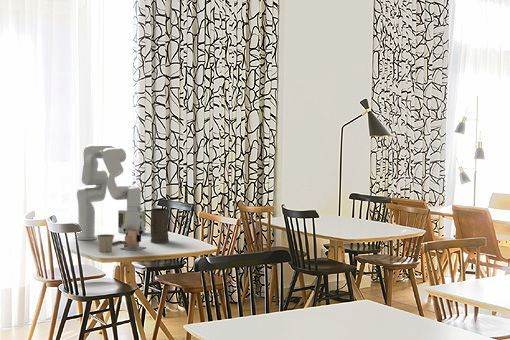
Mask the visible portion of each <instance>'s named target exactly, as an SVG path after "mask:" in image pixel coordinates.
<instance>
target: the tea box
mask: <svg viewBox="0 0 510 340" xmlns="http://www.w3.org/2000/svg"><path fill="white" fill-rule="evenodd" d="M126 212H127V208H126V209H119V210H118V212H117V213H118V214H117V215H118V216H117V217H118V218H117V220H118V223H117V224H118V226H117V227H118V228H117V231H118V233H121V234H125V232H124V231H123V229H122V227H121V226H122V225H123V224H124V223H125V214H126ZM141 212H142V215H143V225H144V227H145V228H146V211H145V210H143V209H142V210H141ZM141 230H142V229H141ZM144 233H146V230H145V231H144V232H143V233H142V234H144Z"/></svg>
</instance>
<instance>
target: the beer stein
mask: <svg viewBox="0 0 510 340" xmlns="http://www.w3.org/2000/svg"><path fill="white" fill-rule="evenodd" d="M168 211H169V210H168V208H165V207H163V208H162V207H157V208H151V209H150V243H153V244H165V243H168V242H169V241H170V240H169V230H168V225H169V212H168Z"/></svg>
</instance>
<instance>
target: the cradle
mask: <svg viewBox="0 0 510 340" xmlns="http://www.w3.org/2000/svg"><path fill="white" fill-rule="evenodd" d="M120 244H121V245H122V244H123V248H124V247H128V242H125V240H116V241H113V242H112V247H113V246H116V245H120Z"/></svg>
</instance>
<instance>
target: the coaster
mask: <svg viewBox="0 0 510 340" xmlns="http://www.w3.org/2000/svg"><path fill="white" fill-rule="evenodd" d="M144 249H147V247H146V246H140V245H139V246H138V247H129V246H128V247H124V246H123V247H120V250H125V251H133V252H134V251H135V252H136V251H140V250H141V251H142V250H144Z"/></svg>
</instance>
